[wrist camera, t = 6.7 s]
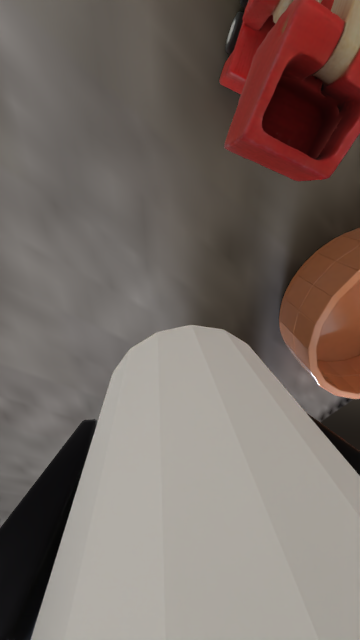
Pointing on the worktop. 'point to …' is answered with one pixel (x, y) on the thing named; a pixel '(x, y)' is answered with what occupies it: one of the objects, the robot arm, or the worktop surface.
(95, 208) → the worktop surface
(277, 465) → the shot glass
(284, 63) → the toy fire truck
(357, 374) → the bowl
